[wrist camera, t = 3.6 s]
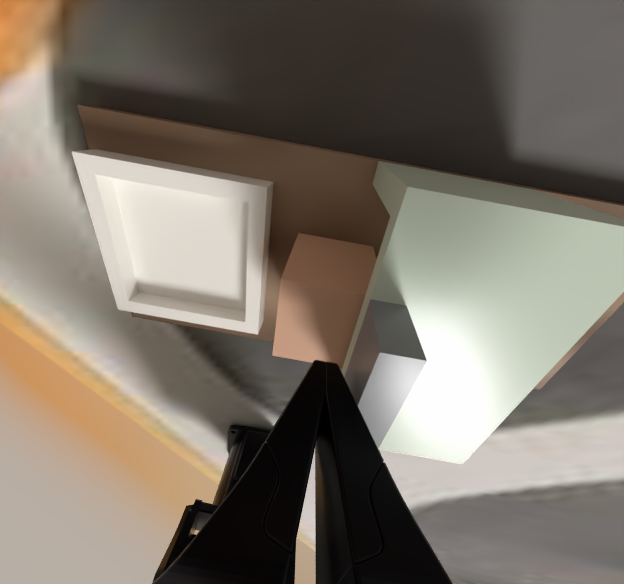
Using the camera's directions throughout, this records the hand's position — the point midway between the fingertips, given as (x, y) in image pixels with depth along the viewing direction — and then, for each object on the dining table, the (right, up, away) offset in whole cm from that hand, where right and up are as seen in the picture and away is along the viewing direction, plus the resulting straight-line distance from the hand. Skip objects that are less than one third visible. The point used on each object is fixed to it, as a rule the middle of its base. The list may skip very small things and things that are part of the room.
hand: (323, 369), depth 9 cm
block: (+1, +4, +6) cm, 7 cm away
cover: (+5, +3, +6) cm, 8 cm away
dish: (-7, +5, +6) cm, 11 cm away
